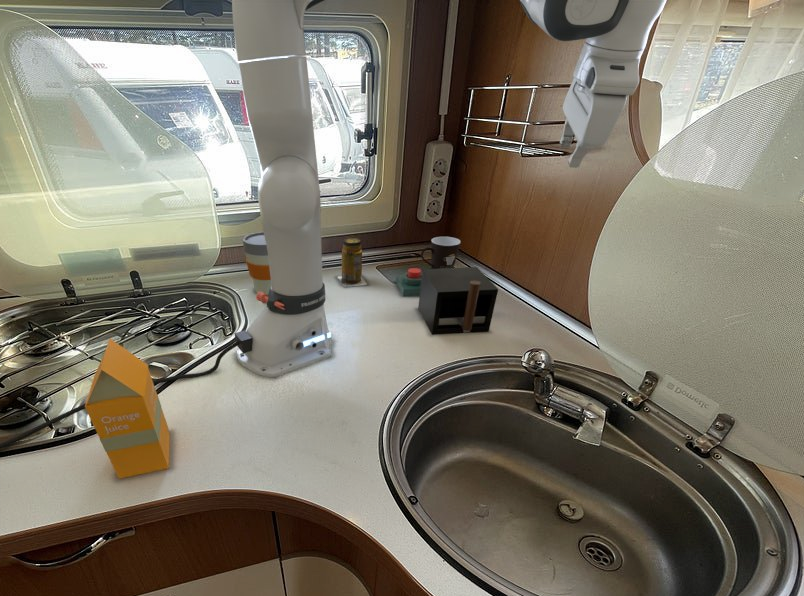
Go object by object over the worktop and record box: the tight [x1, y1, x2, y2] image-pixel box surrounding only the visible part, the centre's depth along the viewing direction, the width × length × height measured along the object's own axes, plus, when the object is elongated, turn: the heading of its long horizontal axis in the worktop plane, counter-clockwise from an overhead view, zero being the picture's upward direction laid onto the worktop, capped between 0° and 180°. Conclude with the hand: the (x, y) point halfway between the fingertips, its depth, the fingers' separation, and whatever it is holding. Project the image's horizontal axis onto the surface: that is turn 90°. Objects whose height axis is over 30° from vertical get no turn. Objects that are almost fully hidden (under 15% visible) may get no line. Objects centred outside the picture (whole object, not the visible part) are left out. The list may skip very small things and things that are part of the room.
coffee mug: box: [420, 236, 461, 269], centre depth 130 cm, size 12×9×10 cm
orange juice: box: [85, 337, 171, 480], centre depth 64 cm, size 8×9×20 cm
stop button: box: [407, 267, 422, 279], centre depth 120 cm, size 4×4×2 cm
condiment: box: [336, 237, 368, 288], centre depth 125 cm, size 7×8×12 cm
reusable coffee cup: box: [242, 231, 271, 295], centre depth 120 cm, size 13×13×15 cm
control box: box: [395, 271, 422, 297], centre depth 122 cm, size 10×8×4 cm
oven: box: [417, 266, 499, 336], centre depth 104 cm, size 14×14×11 cm
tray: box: [438, 281, 486, 332], centre depth 100 cm, size 16×11×12 cm
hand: (568, 155), depth 80 cm, fingers open, 8 cm apart
